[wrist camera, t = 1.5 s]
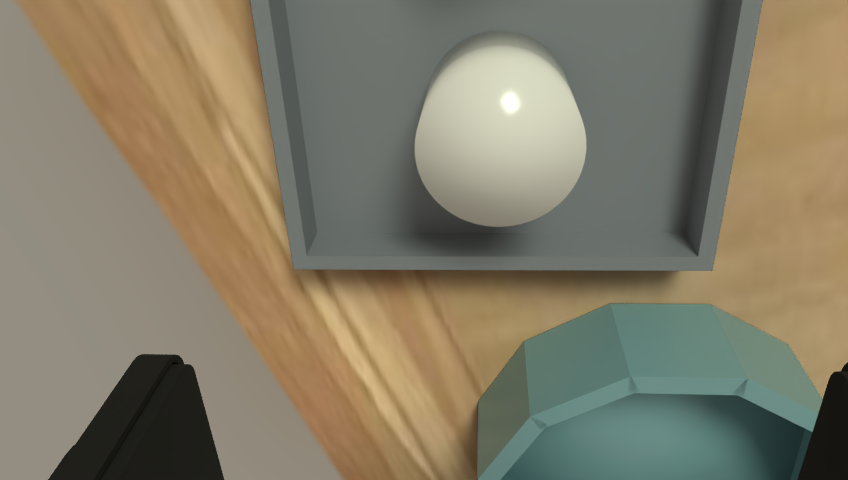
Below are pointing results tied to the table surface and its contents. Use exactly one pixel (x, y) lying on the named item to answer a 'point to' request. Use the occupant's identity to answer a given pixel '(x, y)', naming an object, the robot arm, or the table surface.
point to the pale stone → (499, 131)
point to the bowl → (648, 401)
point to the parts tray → (594, 95)
